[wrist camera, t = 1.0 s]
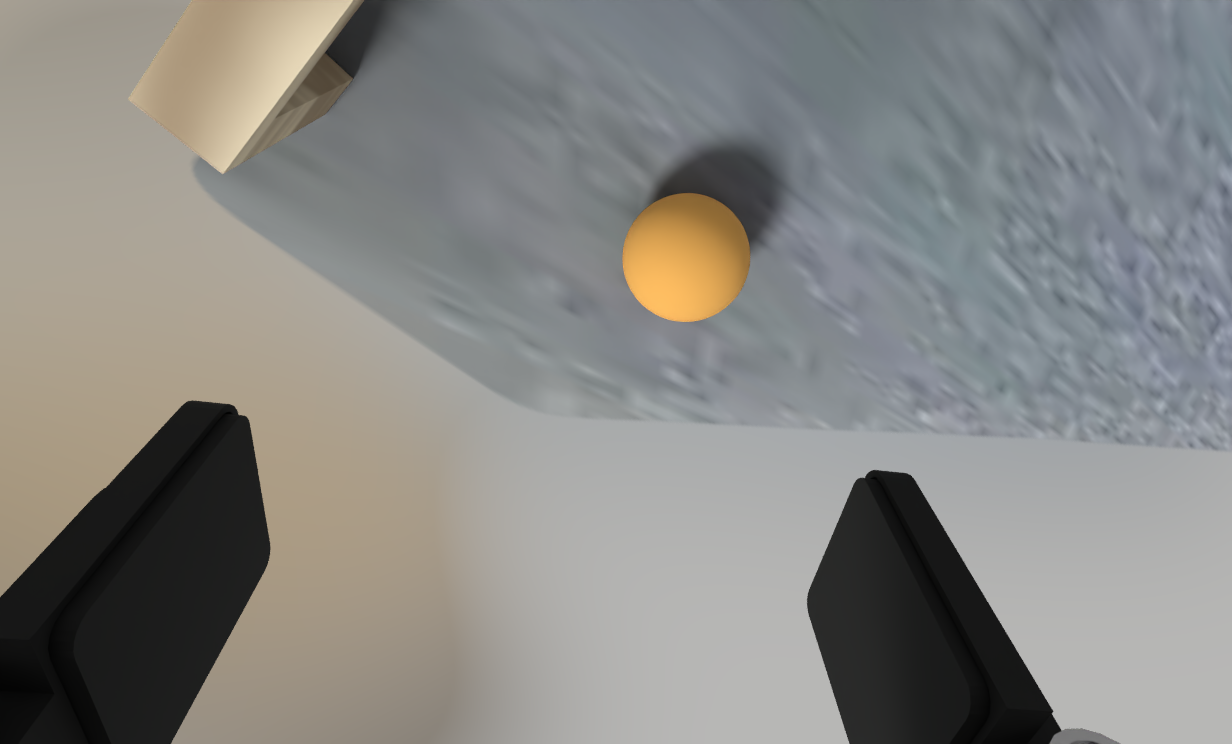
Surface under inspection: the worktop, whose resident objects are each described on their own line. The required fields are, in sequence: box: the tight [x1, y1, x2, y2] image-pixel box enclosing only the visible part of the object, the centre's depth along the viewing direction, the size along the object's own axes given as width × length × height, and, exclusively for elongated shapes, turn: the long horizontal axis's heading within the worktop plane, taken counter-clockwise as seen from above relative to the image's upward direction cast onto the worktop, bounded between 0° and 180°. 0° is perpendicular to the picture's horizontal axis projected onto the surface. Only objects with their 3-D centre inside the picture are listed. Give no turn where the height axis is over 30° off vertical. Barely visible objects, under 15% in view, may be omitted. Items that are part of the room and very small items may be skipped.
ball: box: [623, 193, 750, 322], centre depth 30 cm, size 6×6×6 cm
